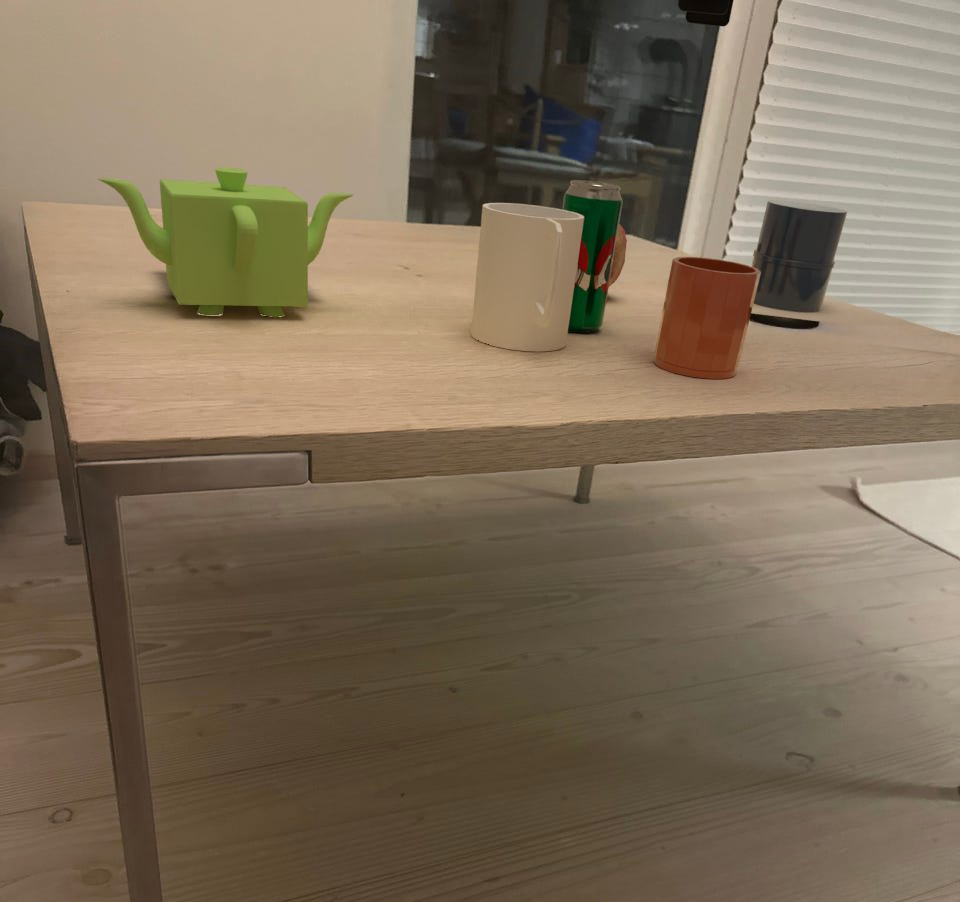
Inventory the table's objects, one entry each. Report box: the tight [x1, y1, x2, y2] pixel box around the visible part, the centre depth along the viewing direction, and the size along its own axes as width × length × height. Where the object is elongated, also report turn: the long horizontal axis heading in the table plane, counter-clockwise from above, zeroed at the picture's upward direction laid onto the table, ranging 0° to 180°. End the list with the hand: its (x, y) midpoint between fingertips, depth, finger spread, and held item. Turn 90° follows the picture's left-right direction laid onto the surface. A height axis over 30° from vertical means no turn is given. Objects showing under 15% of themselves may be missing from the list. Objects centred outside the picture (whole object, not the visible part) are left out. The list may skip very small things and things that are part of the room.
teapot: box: [97, 167, 354, 317], centre depth 76 cm, size 15×13×11 cm
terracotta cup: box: [653, 256, 761, 380], centre depth 75 cm, size 7×7×8 cm
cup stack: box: [749, 199, 848, 330], centre depth 95 cm, size 8×8×11 cm
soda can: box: [561, 179, 624, 334], centre depth 82 cm, size 5×5×12 cm
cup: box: [470, 202, 584, 353], centre depth 75 cm, size 8×12×10 cm
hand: (704, 18), depth 64 cm, fingers open, 9 cm apart
